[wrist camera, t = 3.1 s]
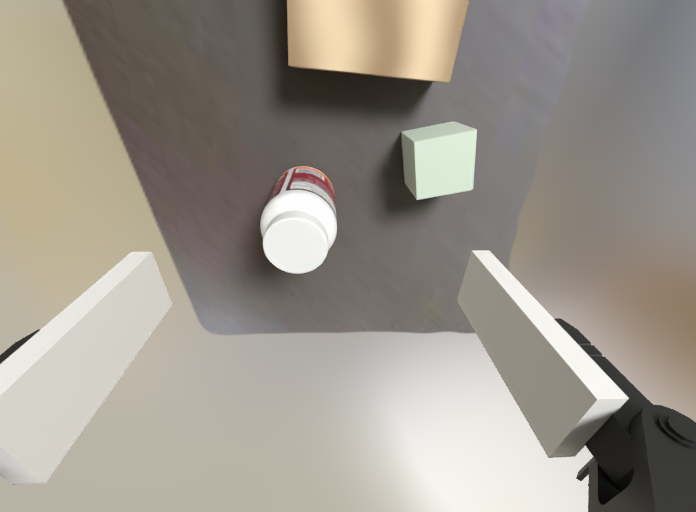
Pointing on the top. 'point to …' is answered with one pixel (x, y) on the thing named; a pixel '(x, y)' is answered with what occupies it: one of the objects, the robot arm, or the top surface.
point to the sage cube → (439, 159)
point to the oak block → (376, 36)
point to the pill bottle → (299, 220)
